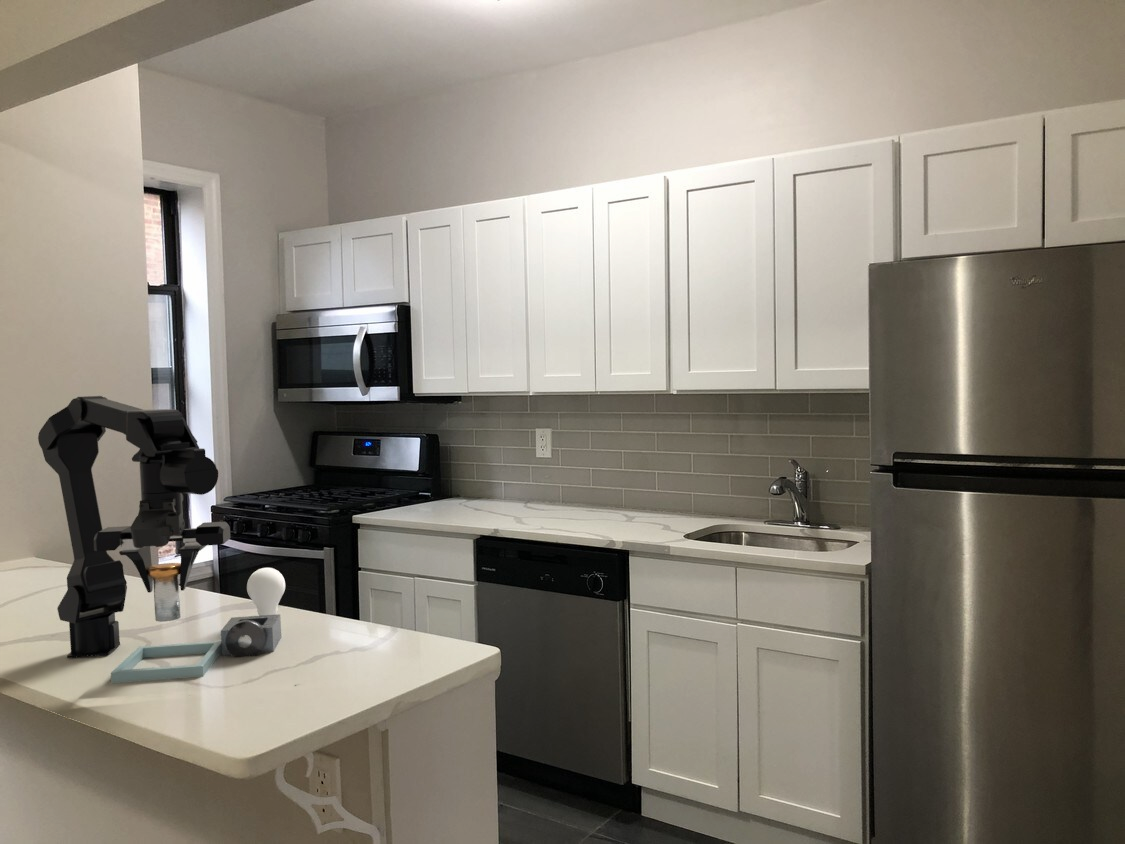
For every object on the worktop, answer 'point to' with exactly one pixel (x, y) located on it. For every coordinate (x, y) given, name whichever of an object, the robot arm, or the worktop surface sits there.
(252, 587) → the light bulb
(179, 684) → the worktop surface
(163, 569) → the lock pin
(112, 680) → the tray
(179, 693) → the worktop surface
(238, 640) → the block
